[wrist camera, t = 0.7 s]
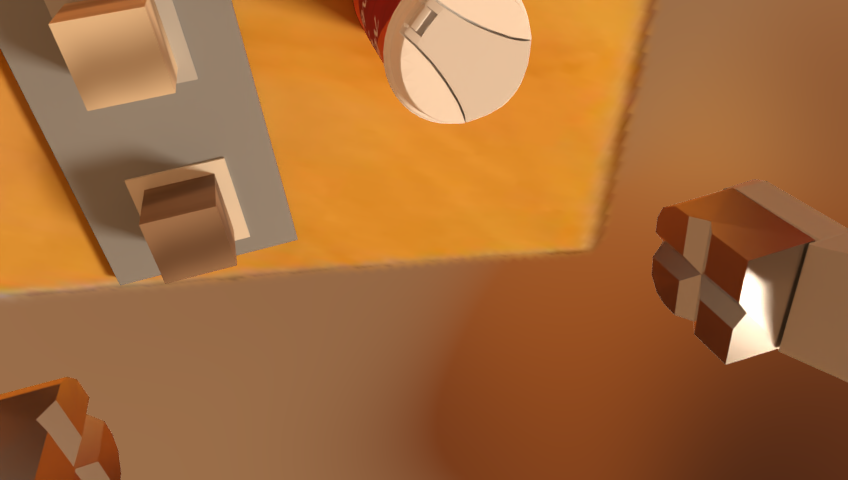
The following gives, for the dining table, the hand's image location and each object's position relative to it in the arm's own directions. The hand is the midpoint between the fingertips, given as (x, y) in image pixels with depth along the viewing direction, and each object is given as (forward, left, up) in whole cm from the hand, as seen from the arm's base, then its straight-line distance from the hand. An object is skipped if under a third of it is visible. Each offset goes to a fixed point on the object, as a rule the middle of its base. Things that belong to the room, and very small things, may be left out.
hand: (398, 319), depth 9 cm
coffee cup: (+5, +9, -38) cm, 40 cm away
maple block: (+4, -9, -37) cm, 38 cm away
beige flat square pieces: (+11, -9, -38) cm, 41 cm away
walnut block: (+17, -9, -37) cm, 42 cm away
